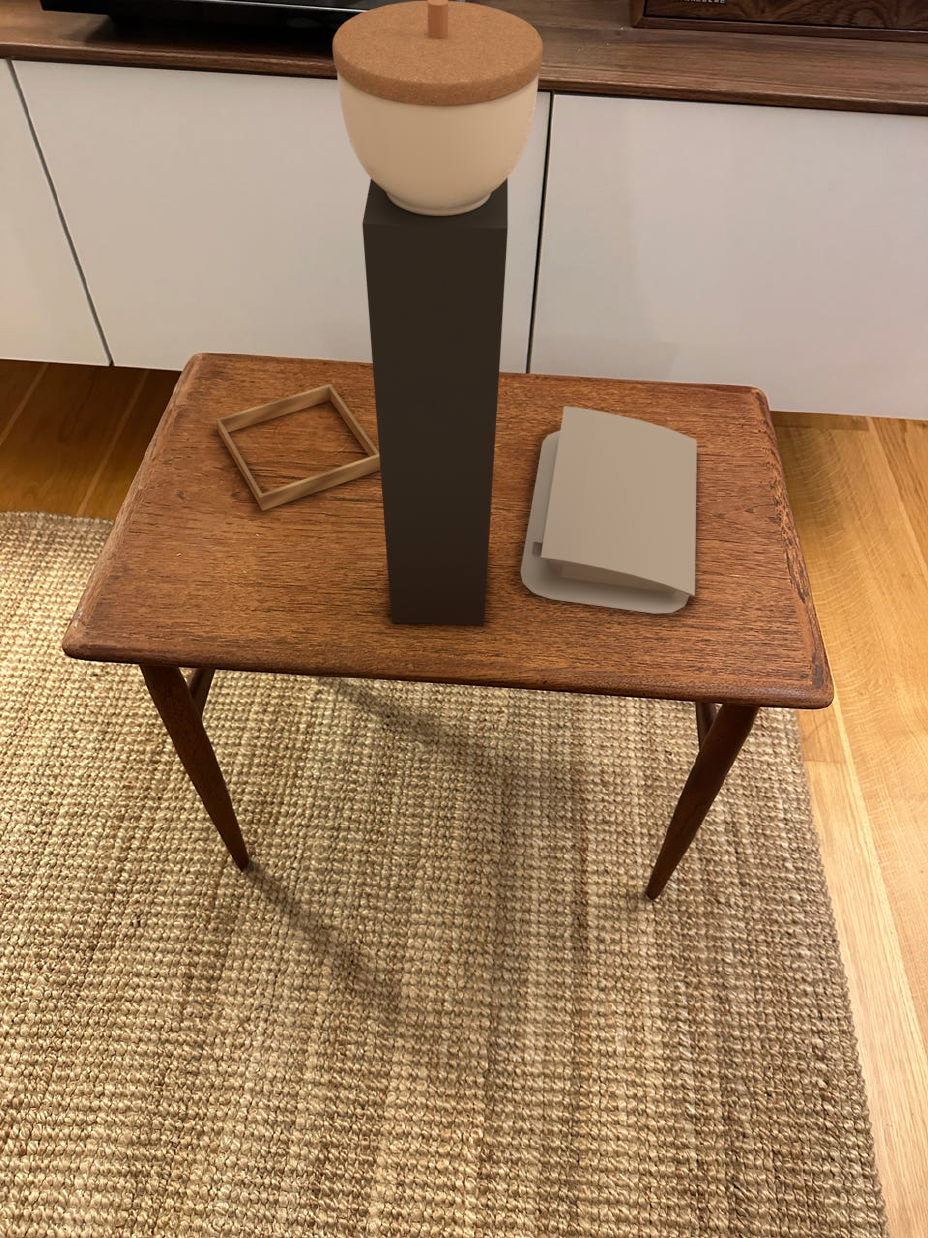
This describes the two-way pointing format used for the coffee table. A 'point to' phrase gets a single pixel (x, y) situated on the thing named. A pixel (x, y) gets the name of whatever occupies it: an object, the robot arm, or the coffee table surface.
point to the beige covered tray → (613, 515)
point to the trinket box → (438, 99)
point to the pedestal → (436, 397)
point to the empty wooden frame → (310, 483)
